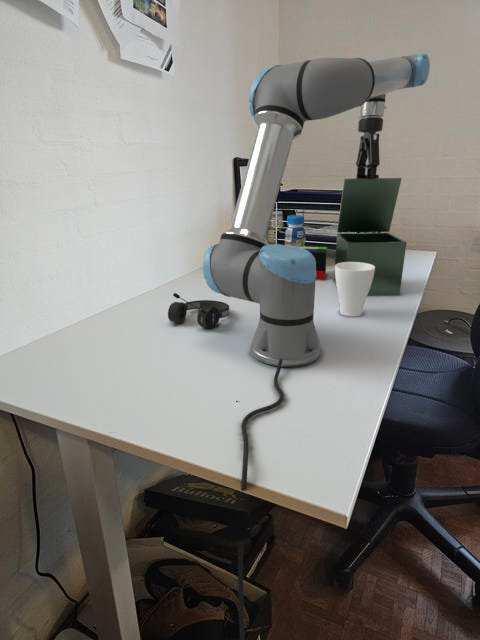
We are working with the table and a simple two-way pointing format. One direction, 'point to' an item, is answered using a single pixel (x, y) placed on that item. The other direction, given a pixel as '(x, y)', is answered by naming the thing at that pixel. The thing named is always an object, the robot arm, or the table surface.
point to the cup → (353, 286)
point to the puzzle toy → (319, 260)
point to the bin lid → (368, 204)
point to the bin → (375, 258)
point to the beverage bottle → (295, 231)
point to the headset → (205, 316)
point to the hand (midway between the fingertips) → (364, 188)
